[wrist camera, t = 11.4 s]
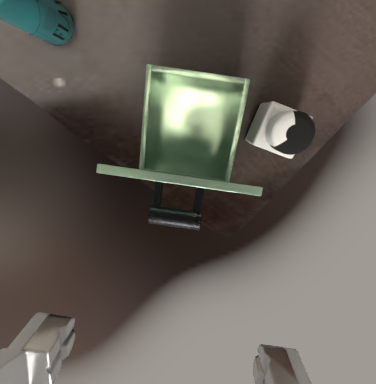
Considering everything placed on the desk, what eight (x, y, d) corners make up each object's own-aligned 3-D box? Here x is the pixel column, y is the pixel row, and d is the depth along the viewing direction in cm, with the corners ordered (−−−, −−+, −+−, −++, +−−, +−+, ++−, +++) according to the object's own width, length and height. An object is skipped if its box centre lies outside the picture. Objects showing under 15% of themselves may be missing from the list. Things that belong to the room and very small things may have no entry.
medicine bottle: (296, 116, 42) (332, 117, 31) (278, 152, 44) (305, 166, 33) (260, 102, 42) (283, 98, 30) (244, 140, 44) (260, 149, 33)
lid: (97, 163, 20) (90, 219, 20) (263, 187, 20) (254, 243, 20) (138, 170, 36) (134, 201, 37) (229, 183, 36) (224, 214, 37)
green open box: (158, 74, 41) (146, 63, 32) (238, 86, 41) (250, 78, 32) (150, 160, 46) (138, 172, 37) (222, 170, 46) (228, 185, 37)
